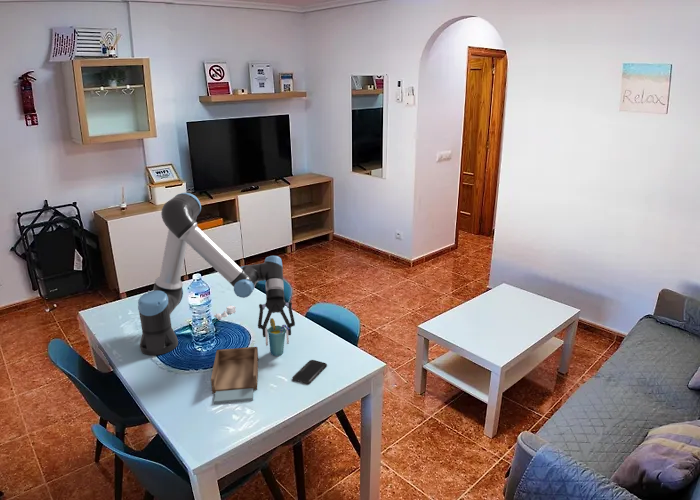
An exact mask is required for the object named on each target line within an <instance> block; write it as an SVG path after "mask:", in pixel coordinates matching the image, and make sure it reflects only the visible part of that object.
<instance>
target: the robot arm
mask: <svg viewBox="0 0 700 500" xmlns="http://www.w3.org/2000/svg"><path fill="white" fill-rule="evenodd" d="M201 211H202V205H201V201H200V200H199V198H198V197H197V196H196V195H194V194H192V193H190V192H181V193H178V194H176V195H175V196H174V197H172V198H171V199H169V200H168V201H166V202H165V203H164V204H163V206H162V208H161V218H162V221H163V223H164V225H165V226H166V228H167V229H168V230H167V238H166V241H165V247H164V252H163V257H162V262H161V268H160V274H159V277H156V279H155V280H154V284H153V289H152V290H150V291H148V292H147V293H143V294H142V295H140V297H139V298H138V301H137V304H138V305H137V310H138V313H139V320H140V326H141V331H142V332H141V338H140V342H139V349H140V352H141V353H142V354H144V355H146V356H159V355H165V354H168V353H169V352H171V351H173V350H175V349H176V348H177V347H178V345H179V340H178V336H177V335H176V333H175V331H174V329H173V328H172V321H171V315H172V313H173V312H174V310H175V309H176V307H178V306H179V305H180V303H181V302H182V300H183V296H184V290H183V285H184V283H183V281H182V280H181V277H182V274H183V273H182V272H183V267H184V262H185V257H186V254H187V252H186V251H187V249H188V248H187V247H188V245H189V246H190V247H191V248H192V249H193V250H194V251H195V252H196V253H197V254H198V255H199V256H200V257H202V258H203V260H204V261H206V263H208V264H209V265H210V266H211V267H212V268H213V269H214V270H215V271H217V272H218V274H220V275H221V276H222V277H223V278H224V279H225V280H226V281H227V282H228V283H229V284H230V285H231V286H232V287H233V292H234V294H235V295H236V296H237V297H238V298H243V299H244V298H245V299H246V298H248V297H249V296H251V294H252V293H253V292H254V290H255V287H256V285H257V283H259V282H262V281H263V282H264V281H265V301H266V302H265V303H263V304H262V303H259V304H258V308H259V313H258V322H257V329H259V330H260V329H261V330H262V337H263V338H265V346H269V335H268V331H267V330H268V324H269V322H270V319H271V316H272V314H275V313H280V315H281V317H282V319H283V320H284V323H285V325H286V326H287V327H288V328H290V329H289V330H287V329H286V328H285V329H286V333H285V337H286V345H289V343H290V340H289V338H290V337H289V336H291V335H292V327H296V322H295V317H294V314H293V303H292V302H291V301H289V302H286V301H285V291H284V289H285V288H284V287H285V286H284V269H283V268H284V267H283V261H282V258H281V257H280V256H278V255H270V256H267V257H265V259H264V262H262V263H257V264H250V265H247V264H246V265H244V266H243V265H242V266H239V265H238V264H237V263H236V262H235V261H234V260H233V259H232V258H231V257H230V256H229V255H228V254H227V253H226V252H225V251H224V250H223V249H222V248H221V247H220V246H219V245H218V244H217V243H215V242H214V240H212V239H211V238H210V237H209V236H208V235H207V233H205V232H204V231H203V230H202V229H201V228H200V227H199V226H198V222H197V217H198V216H199V215H200V213H201ZM285 306H286V308H287V309H288V313H289V317H290V318H289V319H290V321H289V319H288V316H287V314H286V313H285V311H284V308H285ZM265 308H267V310H268V311H267V313H266V317H265V319H264V321H263V317H264V316H263V314H264V310H265ZM262 322H263V324H262Z"/></svg>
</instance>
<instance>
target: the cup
mask: <svg viewBox="0 0 700 500" xmlns="http://www.w3.org/2000/svg"><path fill="white" fill-rule="evenodd" d="M269 322H270V327H269V328H267V332H268V345H269V352H270V355H271V356H275V357H278V356H282V354H284V348H285V338H286V329H287V330H289V329H290V328H288V327H287V325H286V323H285V324H284V323H283V324H282V325H276V321H275V320H274V318H271V317H270V319H269Z"/></svg>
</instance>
